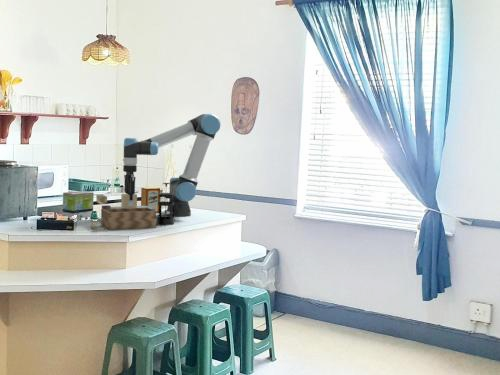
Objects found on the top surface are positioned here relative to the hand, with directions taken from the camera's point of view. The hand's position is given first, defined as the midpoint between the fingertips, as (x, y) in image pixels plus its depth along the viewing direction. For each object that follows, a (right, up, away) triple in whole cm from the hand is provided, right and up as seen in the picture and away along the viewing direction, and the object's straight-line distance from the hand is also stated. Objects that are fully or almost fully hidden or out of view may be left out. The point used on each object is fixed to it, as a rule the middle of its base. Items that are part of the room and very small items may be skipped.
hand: (129, 205), depth 357 cm
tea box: (-30, -7, +1) cm, 31 cm away
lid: (0, -5, 0) cm, 5 cm away
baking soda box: (+8, -6, +28) cm, 30 cm away
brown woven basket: (+4, -11, -23) cm, 25 cm away
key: (-12, +2, -15) cm, 19 cm away
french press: (+23, -10, -9) cm, 26 cm away
